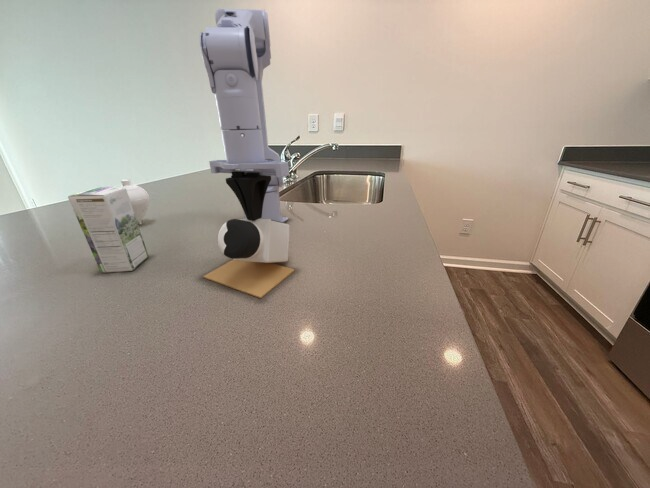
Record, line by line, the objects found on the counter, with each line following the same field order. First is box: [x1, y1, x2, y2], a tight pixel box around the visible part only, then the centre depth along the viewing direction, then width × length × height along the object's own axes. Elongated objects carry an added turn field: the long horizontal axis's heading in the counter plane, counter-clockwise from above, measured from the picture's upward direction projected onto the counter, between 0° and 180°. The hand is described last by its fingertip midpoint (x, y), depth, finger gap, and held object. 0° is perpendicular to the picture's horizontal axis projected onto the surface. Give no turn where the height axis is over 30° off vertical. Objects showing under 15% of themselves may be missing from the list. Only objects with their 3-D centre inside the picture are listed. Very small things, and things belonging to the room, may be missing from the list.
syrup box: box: [67, 186, 149, 274], centre depth 46 cm, size 6×6×14 cm
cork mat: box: [202, 259, 295, 299], centre depth 45 cm, size 13×9×1 cm
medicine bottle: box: [217, 218, 291, 263], centre depth 44 cm, size 7×7×12 cm
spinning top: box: [120, 179, 151, 225], centre depth 67 cm, size 8×8×12 cm
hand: (254, 218), depth 43 cm, fingers closed, pressing on medicine bottle
